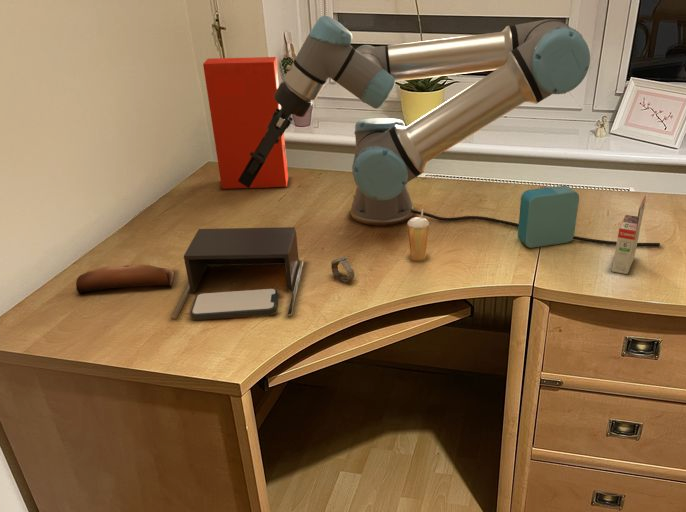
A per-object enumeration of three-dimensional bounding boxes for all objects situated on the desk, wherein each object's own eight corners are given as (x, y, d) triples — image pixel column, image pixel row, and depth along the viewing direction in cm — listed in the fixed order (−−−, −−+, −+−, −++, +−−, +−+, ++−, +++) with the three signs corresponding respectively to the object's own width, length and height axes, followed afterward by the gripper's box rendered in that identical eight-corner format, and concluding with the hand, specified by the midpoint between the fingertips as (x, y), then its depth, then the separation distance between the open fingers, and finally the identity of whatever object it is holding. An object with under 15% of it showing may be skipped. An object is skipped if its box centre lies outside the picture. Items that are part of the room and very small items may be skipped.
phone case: (190, 322, 131) (276, 316, 132) (188, 315, 130) (275, 309, 131) (197, 300, 139) (279, 294, 139) (196, 292, 138) (278, 287, 139)
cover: (298, 261, 152) (295, 227, 147) (292, 290, 140) (288, 254, 136) (204, 263, 151) (198, 228, 147) (190, 292, 140) (183, 255, 136)
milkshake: (432, 253, 155) (433, 210, 149) (424, 263, 151) (425, 219, 145) (412, 250, 156) (412, 208, 151) (404, 260, 152) (404, 217, 146)
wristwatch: (340, 272, 148) (339, 250, 145) (358, 282, 144) (357, 259, 141) (327, 277, 146) (325, 255, 143) (345, 287, 142) (343, 265, 139)
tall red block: (226, 179, 197) (208, 57, 180) (288, 177, 198) (276, 56, 180) (222, 189, 190) (202, 64, 173) (286, 187, 191) (273, 62, 174)
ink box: (610, 272, 146) (621, 205, 138) (617, 256, 152) (628, 192, 145) (628, 275, 145) (641, 207, 137) (634, 259, 151) (647, 194, 143)
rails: (303, 263, 151) (303, 260, 151) (291, 317, 132) (291, 314, 132) (199, 265, 151) (199, 262, 151) (172, 319, 132) (171, 316, 131)
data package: (564, 234, 163) (570, 184, 156) (573, 242, 159) (580, 191, 153) (516, 241, 160) (521, 190, 153) (525, 249, 156) (530, 197, 150)
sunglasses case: (175, 268, 149) (168, 250, 143) (175, 296, 146) (168, 279, 140) (86, 275, 146) (75, 257, 140) (84, 304, 143) (73, 287, 137)
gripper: (290, 68, 155) (244, 147, 164) (273, 93, 133) (221, 183, 143) (319, 88, 157) (272, 165, 166) (307, 116, 136) (254, 203, 145)
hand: (249, 173), depth 154 cm, fingers open, 13 cm apart
